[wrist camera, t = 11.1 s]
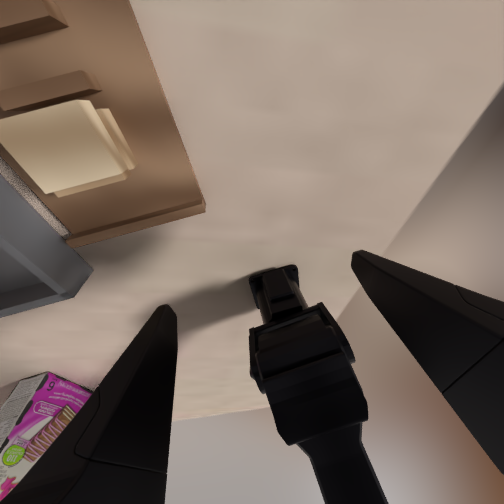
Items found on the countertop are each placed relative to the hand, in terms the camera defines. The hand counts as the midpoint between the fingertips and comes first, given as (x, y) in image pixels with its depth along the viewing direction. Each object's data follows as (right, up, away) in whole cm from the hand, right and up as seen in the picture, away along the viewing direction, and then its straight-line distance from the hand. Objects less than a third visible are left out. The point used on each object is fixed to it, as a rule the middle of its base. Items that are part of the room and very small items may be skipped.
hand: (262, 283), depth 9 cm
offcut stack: (-12, +10, +6) cm, 16 cm away
